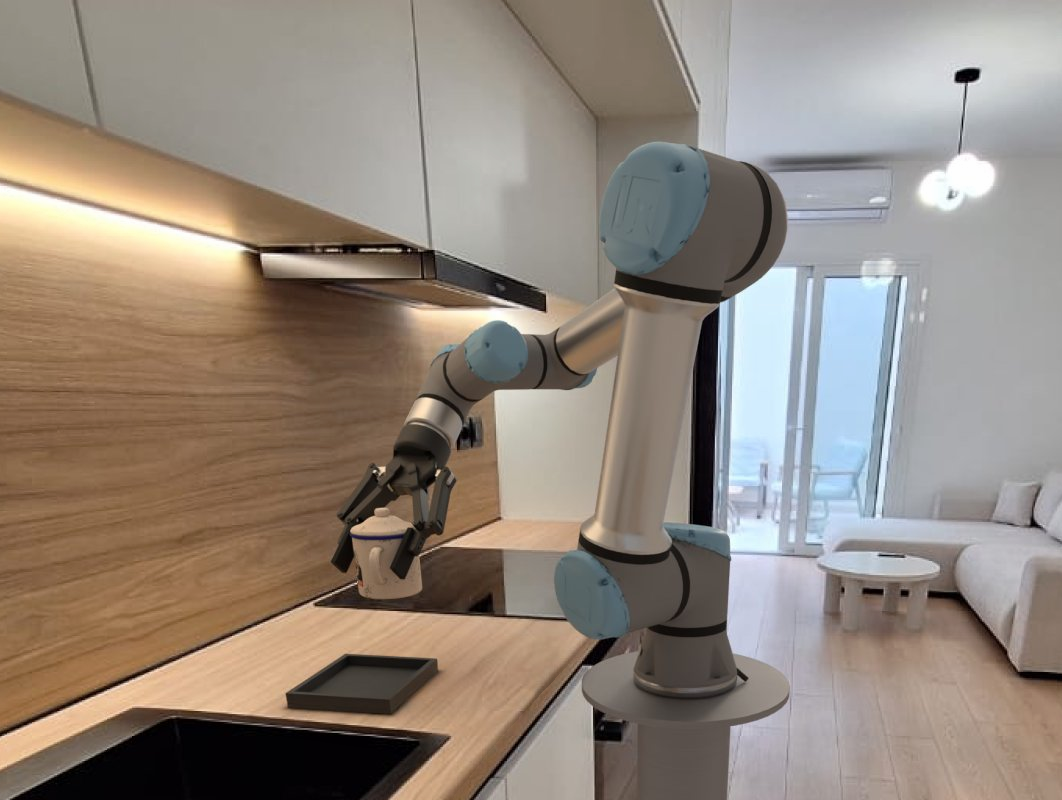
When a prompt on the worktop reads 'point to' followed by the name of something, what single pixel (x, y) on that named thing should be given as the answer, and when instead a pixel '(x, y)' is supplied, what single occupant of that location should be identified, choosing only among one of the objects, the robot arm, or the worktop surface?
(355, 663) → the base pad
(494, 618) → the worktop surface
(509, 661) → the worktop surface
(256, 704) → the worktop surface
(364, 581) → the teacup with lid
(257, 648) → the worktop surface
